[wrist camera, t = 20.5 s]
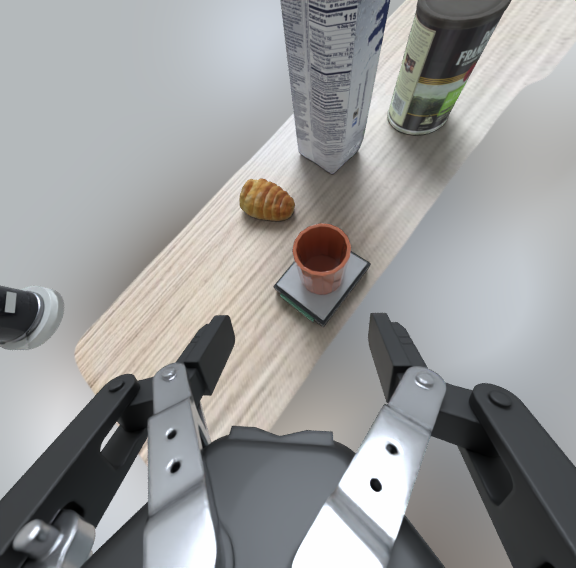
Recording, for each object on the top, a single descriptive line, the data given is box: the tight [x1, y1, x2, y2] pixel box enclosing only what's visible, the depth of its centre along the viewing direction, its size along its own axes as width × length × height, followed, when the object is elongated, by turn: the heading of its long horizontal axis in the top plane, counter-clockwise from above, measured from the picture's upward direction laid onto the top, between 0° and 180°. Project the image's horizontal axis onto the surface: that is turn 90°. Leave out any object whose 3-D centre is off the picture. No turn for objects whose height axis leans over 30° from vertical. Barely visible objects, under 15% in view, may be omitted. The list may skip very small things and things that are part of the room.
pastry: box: [240, 179, 295, 221], centre depth 37 cm, size 9×7×4 cm
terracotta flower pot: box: [293, 223, 351, 295], centre depth 27 cm, size 6×6×8 cm
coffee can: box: [388, 0, 511, 135], centre depth 33 cm, size 10×10×14 cm
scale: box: [273, 251, 371, 327], centre depth 32 cm, size 11×9×3 cm
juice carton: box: [281, 0, 390, 174], centre depth 27 cm, size 9×10×27 cm
